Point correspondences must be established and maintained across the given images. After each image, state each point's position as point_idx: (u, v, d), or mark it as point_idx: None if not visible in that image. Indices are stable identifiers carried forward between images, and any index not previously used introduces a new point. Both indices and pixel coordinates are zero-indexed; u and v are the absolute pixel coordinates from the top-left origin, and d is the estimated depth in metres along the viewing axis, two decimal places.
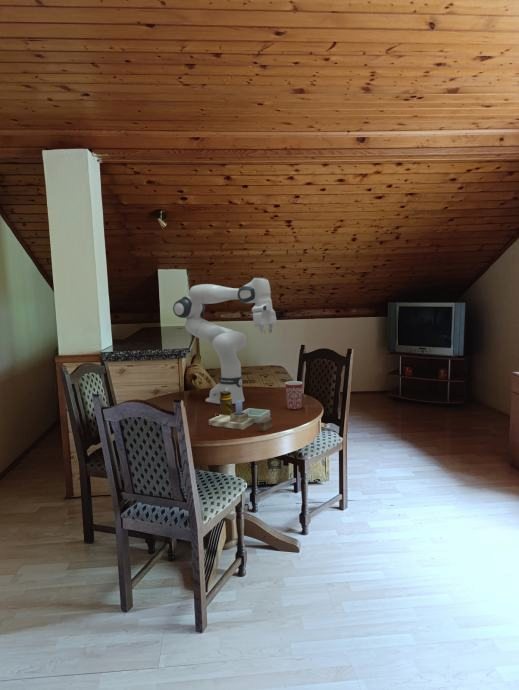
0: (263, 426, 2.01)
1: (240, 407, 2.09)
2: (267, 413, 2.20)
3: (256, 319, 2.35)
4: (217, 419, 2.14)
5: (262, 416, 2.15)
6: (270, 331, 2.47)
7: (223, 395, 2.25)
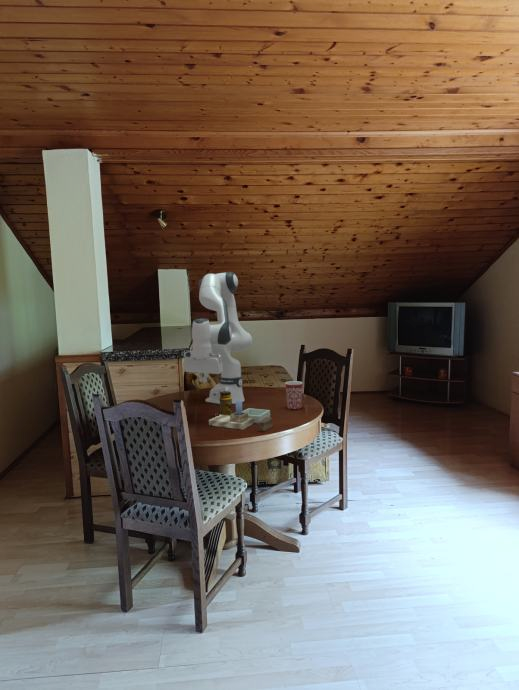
0: (263, 426, 2.01)
1: (240, 407, 2.09)
2: (267, 413, 2.20)
3: None
4: (217, 419, 2.14)
5: (262, 416, 2.15)
6: None
7: (223, 395, 2.25)
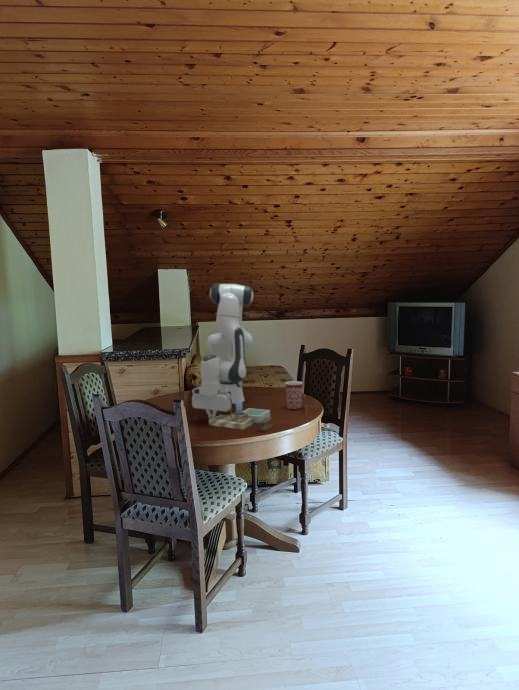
0: (263, 426, 2.01)
1: (240, 407, 2.09)
2: (267, 413, 2.20)
3: None
4: (217, 419, 2.14)
5: (262, 416, 2.15)
6: None
7: None
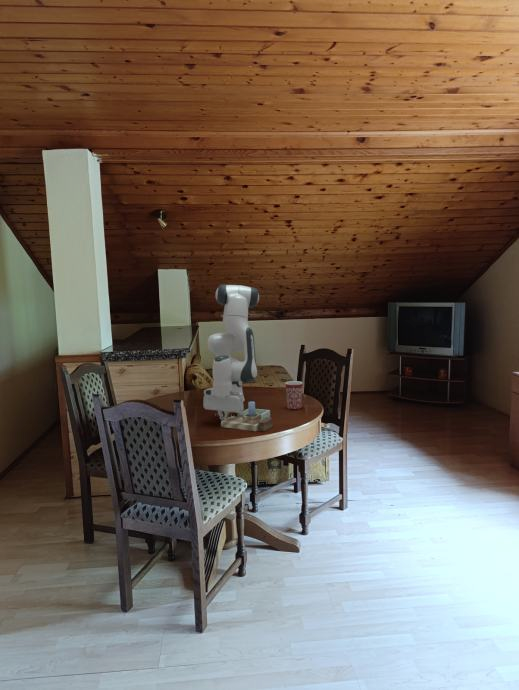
0: (263, 426, 2.01)
1: (253, 408, 2.06)
2: (267, 413, 2.20)
3: None
4: (229, 420, 2.11)
5: (262, 416, 2.15)
6: None
7: None
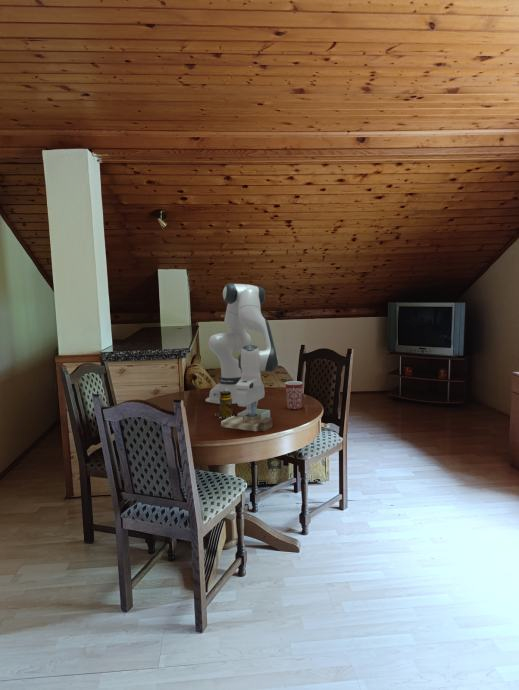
0: (263, 426, 2.01)
1: (253, 408, 2.06)
2: (267, 413, 2.20)
3: (239, 399, 1.98)
4: (229, 420, 2.11)
5: (262, 416, 2.15)
6: None
7: (223, 395, 2.25)
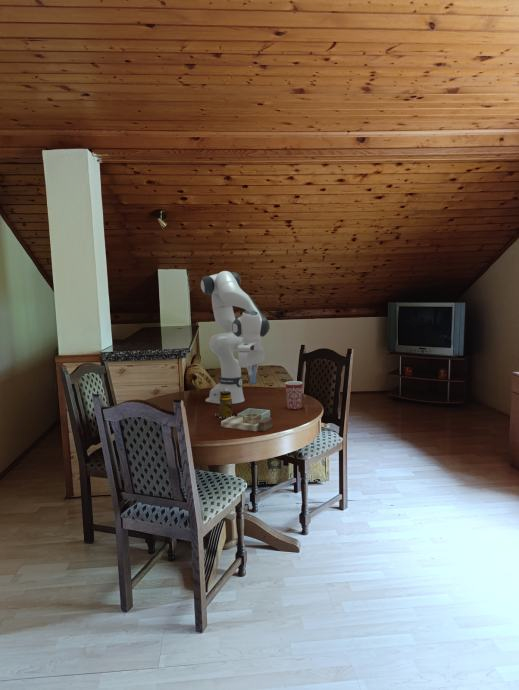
0: (263, 426, 2.01)
1: (254, 371, 2.16)
2: (267, 413, 2.20)
3: (241, 360, 2.08)
4: (229, 420, 2.11)
5: (262, 416, 2.15)
6: None
7: (223, 395, 2.25)
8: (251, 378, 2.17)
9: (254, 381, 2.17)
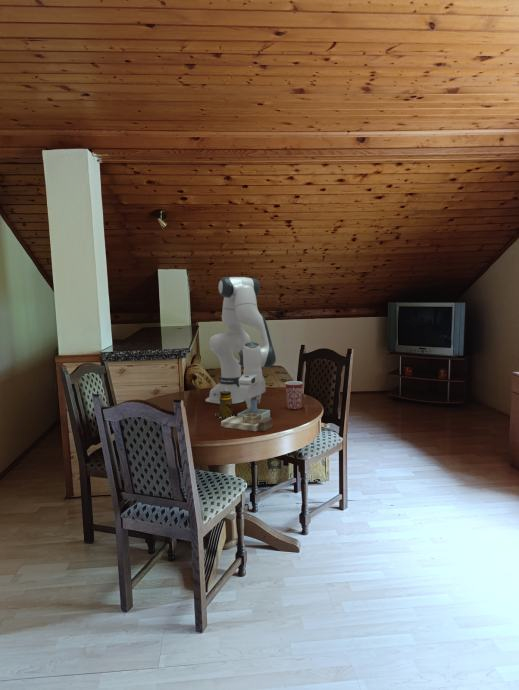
0: (263, 426, 2.01)
1: (255, 405, 2.18)
2: (267, 413, 2.20)
3: (242, 393, 2.10)
4: (229, 420, 2.11)
5: (262, 416, 2.15)
6: (257, 402, 2.23)
7: (223, 395, 2.25)
8: None
9: None
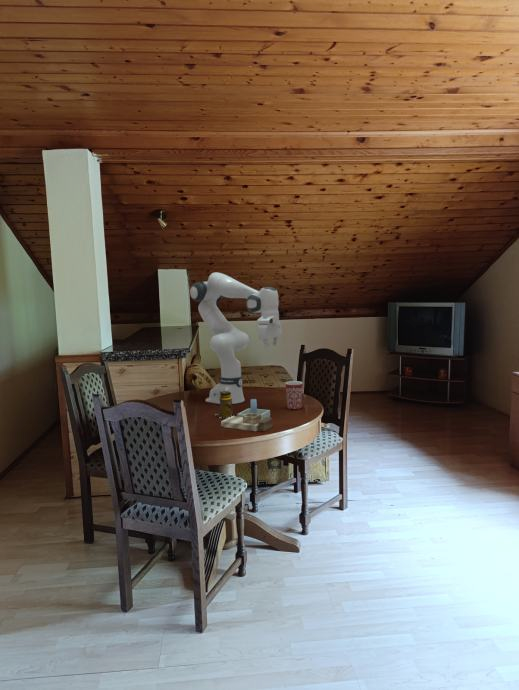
0: (263, 426, 2.01)
1: (255, 405, 2.18)
2: (267, 413, 2.20)
3: (260, 332, 2.23)
4: (229, 420, 2.11)
5: (262, 416, 2.15)
6: (274, 344, 2.36)
7: (223, 395, 2.25)
8: None
9: None
